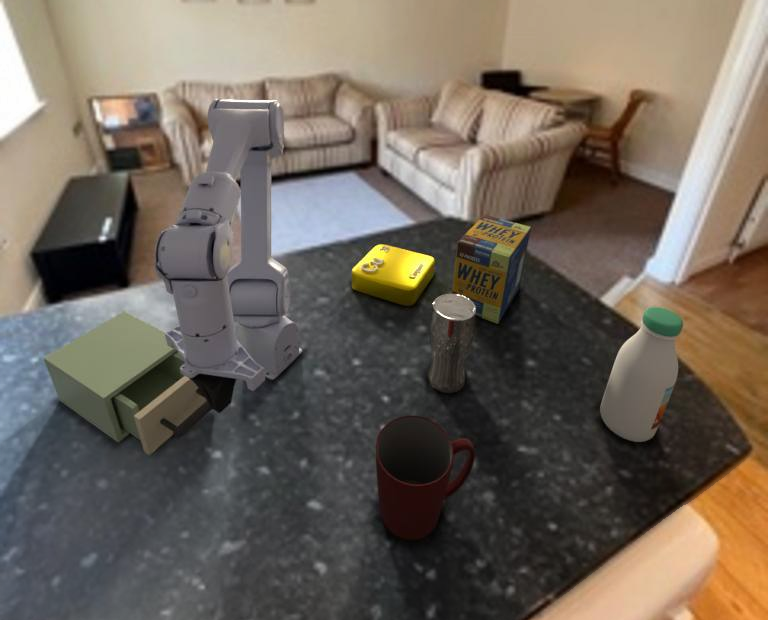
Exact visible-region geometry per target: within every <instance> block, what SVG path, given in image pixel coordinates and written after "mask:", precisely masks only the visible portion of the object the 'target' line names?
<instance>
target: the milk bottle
mask: <svg viewBox="0 0 768 620" xmlns="http://www.w3.org/2000/svg"><path fill="white" fill-rule="evenodd" d="M683 328H684V321H683V319H682V318H681V316H679V315H678V314H677V313H676V312H674V311H672V310H671V309H668V308H666V307H661V306H648V307H647V308H646V309H645V310H644V311H643V315H642V319H641V321H640V328H639V330H637V331H636V333H635V334H633V335H632V336H631V337H630V338H628V339H627V340H626V341H625V342H624V343H623V344H622V346H621V347H620V348H619V350H618V352H617V354H616V357H615V360H614V363H613V366H612V368H611V371H610V374H609V377H608V380H607V383H606V387H605V390H604V392H603V396H602V399H601V402H600V406H599V414H600V417H601V419H602V422H603V423H604V424H605V426H606V427H607V428H608V429H609V430H610V431H611V432H612V433H614V434H615V435H617V436H618V437H620V438H622V439H624V440H627V441H630V442H635V443H643V442H646V441H649V440H651V439H653V437H654V436H655V435H656V433H657V431H658V428H659V426H660V423H661V421H662V419H663V416H664V413H665V411H666V409H667V407H668V404H669V401H670V399H671V396H672V393H673V391H674V388H675V384H676V382H677V379H678V376H679V375H678V374H679V360H678V355H677V351H676V340H678V339H679V337H680V334H681V332H682V331H683Z"/></svg>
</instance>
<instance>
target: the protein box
mask: <svg viewBox="0 0 768 620" xmlns="http://www.w3.org/2000/svg"><path fill="white" fill-rule="evenodd" d="M531 230H532V227H531V226H529V225H524V224H521V223H518V222H514V221H511V220H506V219H504V218H499V217H496V216H492V215H489V214H484V215H482V216H481V218H479V220H477V221H476V222H475V224H474V225H473V226H472V227H471V228H470V229H469V230H468V231H467V232H466V233H465V234H464V235H463V236H462V237H461V238H460V239H459V240H458V241H457V244H456V254H455V263H454V271H453V279H452V280H453V282H452V291H451V294H458V295H462V296H464V297H467V298H468V299H470V300H471V301H472V302H473V303H474V304H475V306H476V317H479V318H481V319H484V320H486V321H489V322H491V323H494V324H496V325H497V324H499V323H500V321H501V319H502V318H503V316H504V314H505V313H506V311H507V309H508V308H509V306H510V305H511V303H512V301H513V300H514V298H515V296H516V295H517V293H518V292H519V290H520V287H521V282H522V277H523V272H524V266H525V262H526V258H527V257H526V256H527V251H528V246H529V240H530V236H531ZM519 285H520V286H519ZM515 292H516V293H515Z"/></svg>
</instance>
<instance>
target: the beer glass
mask: <svg viewBox="0 0 768 620" xmlns="http://www.w3.org/2000/svg"><path fill="white" fill-rule="evenodd" d="M476 317H477V316H476V306H475V304H474V303H473V302H472V301H471V300H470V299H468V298H467V297H464V296H462V295H458V294H452V293H445V294H442V295H439V296H438V297H436V298H435V299H434V301H433V303H432V310H431V314H430V322H429V323H430V324H429V343H430V352H431V357H432V358H431V365H430V368H429V371H428V375H427V379H428V382H429V384H430V386H431V387H432V388H433V389H435V390H437V391H438V392H441V393H444V394H453V393H456V392H458V391H460V390H462V389H463V387H464V385H465V382H466V375H465V364H466V361H467V358H468V356H469V353H470V350H471V348H472V344H473V342H474V336H475V330H476Z"/></svg>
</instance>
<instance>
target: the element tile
mask: <svg viewBox="0 0 768 620" xmlns="http://www.w3.org/2000/svg"><path fill="white" fill-rule="evenodd" d="M435 260H436V259H435V258H434V257H433V256H431V255H427V254H423V253H420V252H416V251H411V250H407V249H405V248H400V247H396V246H392V245H388V244H383V243H379V244H377V245H375V246H374V247H373V248H372V249H371V250H370V251H369V252H368V253H367V254H366V255H365V256H364V257H363V258H362V259H361V260H360V261H359V262H358V263H357V264H356V265H355V266H354V267H353V268H352V269H351V287H352V289H353V290H354V291H356V292H359V293H361V294H365V295H368V296H371V297H375V298H378V299H381V300H384V301H388V302H390V303H394V304H397V305H401V306H405V307H406V306H407V307H409V306H413V305H414V304H416V302H417V301H418V299H419V298H420V296H421V295H422V294H423V292H424V291H425V289H426V288H427V286H428V285H429V283H430V282H431V281H432V279H433V278H434V275H435V263H436V261H435Z"/></svg>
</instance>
